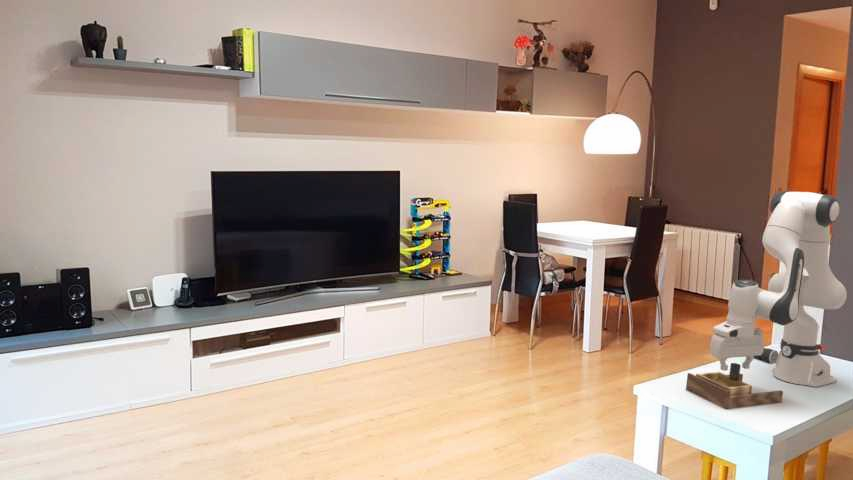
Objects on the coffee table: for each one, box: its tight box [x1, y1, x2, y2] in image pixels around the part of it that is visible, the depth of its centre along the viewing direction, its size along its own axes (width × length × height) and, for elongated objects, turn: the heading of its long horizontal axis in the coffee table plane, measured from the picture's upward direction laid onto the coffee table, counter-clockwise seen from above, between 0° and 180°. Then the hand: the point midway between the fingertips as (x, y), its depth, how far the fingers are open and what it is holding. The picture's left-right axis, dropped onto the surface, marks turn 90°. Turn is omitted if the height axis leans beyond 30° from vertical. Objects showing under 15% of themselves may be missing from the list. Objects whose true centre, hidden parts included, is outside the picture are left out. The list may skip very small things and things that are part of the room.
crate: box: [695, 362, 753, 396], centre depth 234 cm, size 11×14×11 cm
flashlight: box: [753, 347, 779, 364], centre depth 286 cm, size 15×5×5 cm, turn 32°
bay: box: [685, 372, 784, 410], centre depth 236 cm, size 24×18×7 cm
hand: (734, 369), depth 235 cm, fingers open, 8 cm apart
